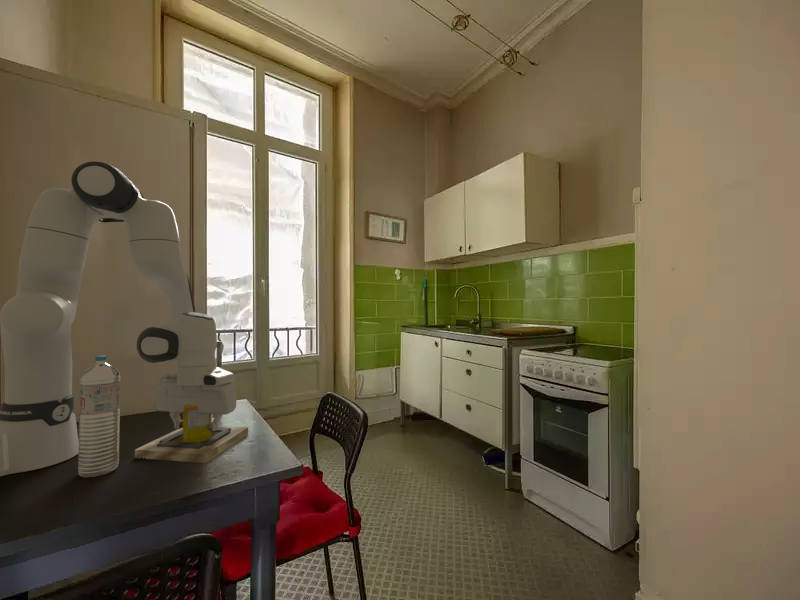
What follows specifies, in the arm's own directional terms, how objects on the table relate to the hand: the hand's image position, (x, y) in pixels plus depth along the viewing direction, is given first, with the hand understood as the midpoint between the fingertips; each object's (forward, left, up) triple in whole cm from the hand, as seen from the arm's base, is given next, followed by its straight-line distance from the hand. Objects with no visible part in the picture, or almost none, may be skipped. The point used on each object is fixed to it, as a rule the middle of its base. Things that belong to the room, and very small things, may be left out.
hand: (195, 429), depth 92 cm
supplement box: (0, 0, -4) cm, 4 cm away
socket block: (0, 0, -4) cm, 4 cm away
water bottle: (-11, -16, -4) cm, 20 cm away
